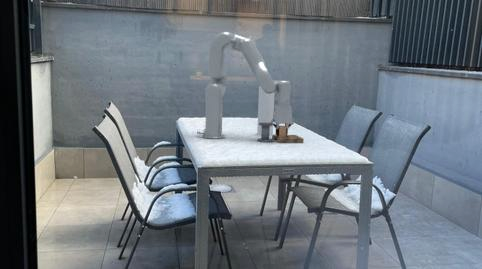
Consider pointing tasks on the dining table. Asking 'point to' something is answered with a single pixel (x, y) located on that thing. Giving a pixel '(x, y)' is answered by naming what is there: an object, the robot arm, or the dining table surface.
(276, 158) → the dining table surface
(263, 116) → the white tall cylinder
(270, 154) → the dining table surface
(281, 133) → the tab
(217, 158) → the dining table surface
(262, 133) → the spool
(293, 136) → the board
